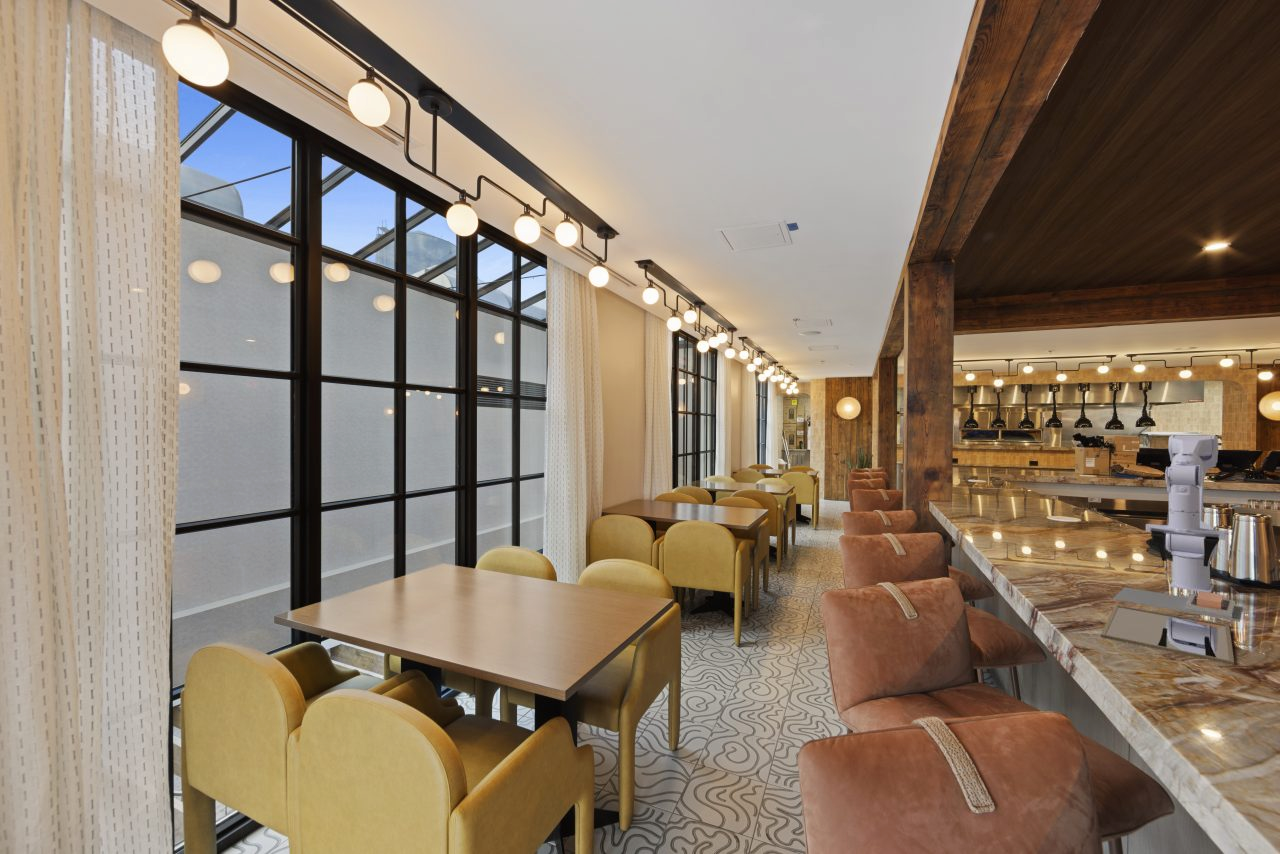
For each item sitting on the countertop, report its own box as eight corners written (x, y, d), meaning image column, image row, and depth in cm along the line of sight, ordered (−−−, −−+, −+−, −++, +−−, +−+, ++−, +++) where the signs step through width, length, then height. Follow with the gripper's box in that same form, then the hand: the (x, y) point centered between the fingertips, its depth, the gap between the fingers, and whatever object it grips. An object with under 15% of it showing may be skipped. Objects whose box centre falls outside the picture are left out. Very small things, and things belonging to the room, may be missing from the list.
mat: (1124, 588, 150) (1124, 587, 150) (1242, 607, 133) (1242, 606, 133) (1112, 599, 140) (1112, 598, 140) (1239, 622, 123) (1239, 621, 123)
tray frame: (1191, 599, 139) (1191, 593, 139) (1235, 606, 133) (1235, 600, 133) (1185, 610, 131) (1185, 604, 131) (1232, 618, 125) (1231, 612, 125)
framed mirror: (1234, 667, 101) (1229, 629, 120) (1234, 662, 101) (1229, 624, 120) (1100, 639, 115) (1115, 608, 134) (1100, 634, 115) (1115, 604, 134)
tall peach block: (1196, 610, 130) (1196, 598, 130) (1200, 602, 136) (1200, 591, 136) (1221, 615, 127) (1220, 602, 127) (1223, 606, 133) (1223, 594, 133)
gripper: (1143, 509, 143) (1144, 560, 143) (1223, 515, 132) (1224, 571, 132) (1147, 506, 148) (1148, 556, 148) (1225, 513, 137) (1226, 566, 137)
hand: (1184, 563), depth 140 cm, fingers open, 7 cm apart
